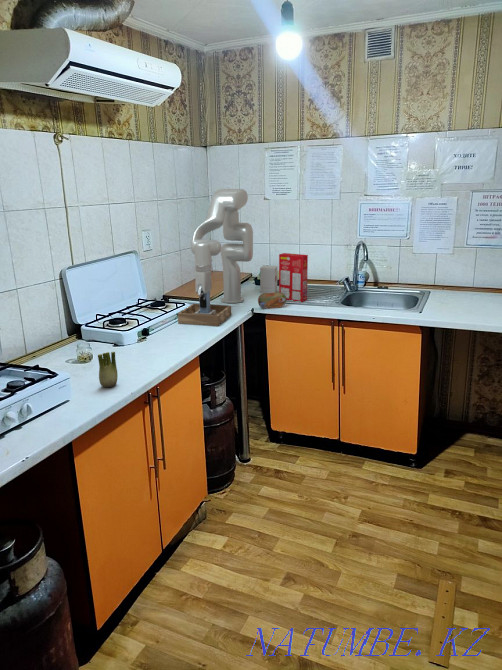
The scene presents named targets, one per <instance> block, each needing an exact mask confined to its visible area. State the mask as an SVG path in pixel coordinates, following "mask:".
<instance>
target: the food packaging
mask: <svg viewBox="0 0 502 670" xmlns="http://www.w3.org/2000/svg"><path fill="white" fill-rule="evenodd" d="M308 259H309V255H308V254H301V253H299V254H298V253H287V252H283V253H280V254H279V255H278V292H282V293H283V294H285V296H286V301H289V300H293V301H292V302H296V301H301V302H300V303H304V302H306V301H305V300H307V301H308V268H309V267H308V261H309V260H308ZM303 301H304V302H303Z"/></svg>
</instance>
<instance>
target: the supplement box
mask: <svg viewBox="0 0 502 670" xmlns="http://www.w3.org/2000/svg"><path fill="white" fill-rule="evenodd" d="M259 273H260V274H259V275H260V277H259V280H260V281H259V282H260V286H259V287H260V290H259V291H260V294H263V293H270V292H278V265H268V264H267V265H262V266H261V267H260V269H259Z"/></svg>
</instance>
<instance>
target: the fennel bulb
mask: <svg viewBox="0 0 502 670" xmlns="http://www.w3.org/2000/svg"><path fill="white" fill-rule="evenodd" d="M97 359H98V364H99V365H98V366H99V367H98V368H99V369H98V379H99V380H98V381H99V384H100V386H101V387H103V388H112V387H115V386H116V385H117V383H118V368H117V361H116V351H111V352H110V351H107V352H103V353H99V354H97Z"/></svg>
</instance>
